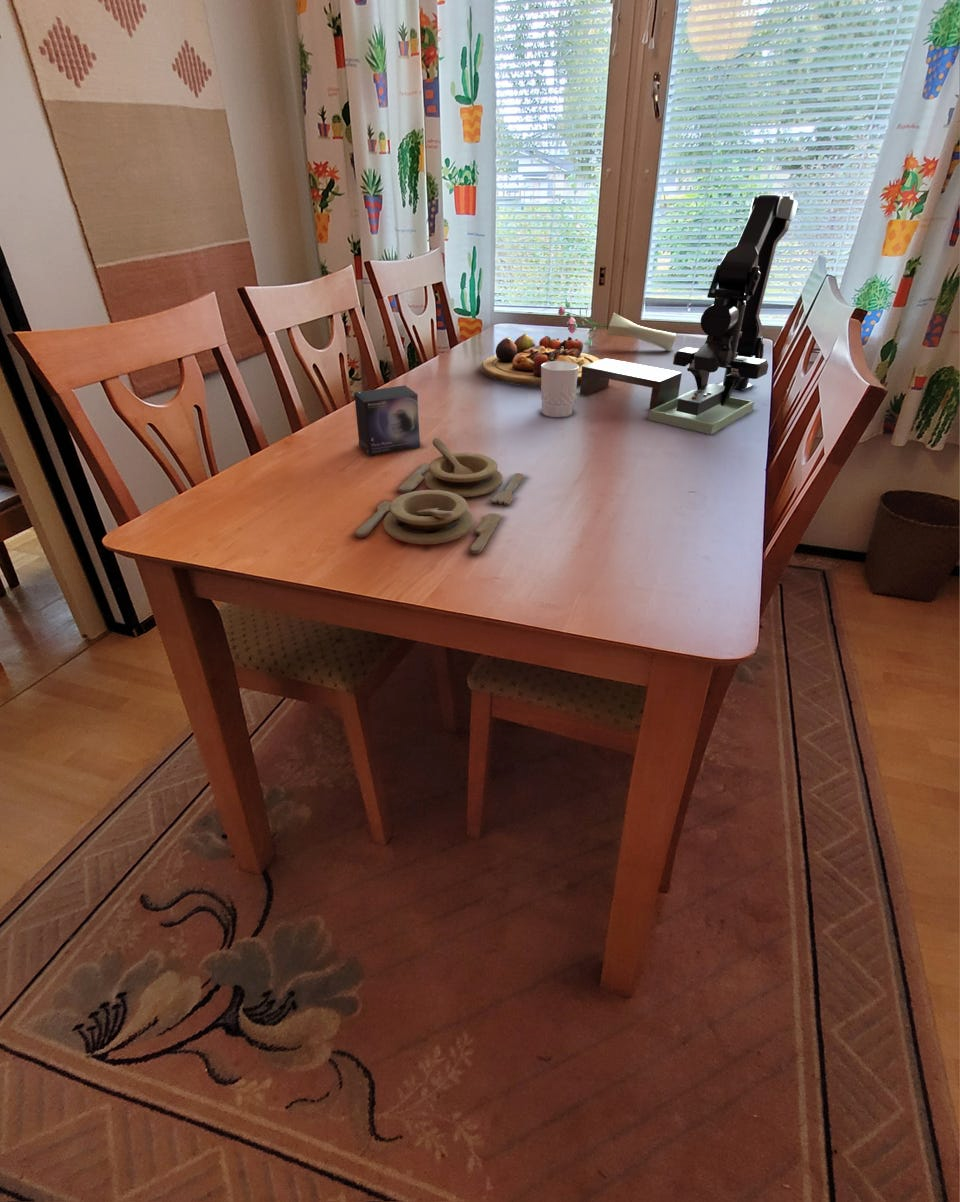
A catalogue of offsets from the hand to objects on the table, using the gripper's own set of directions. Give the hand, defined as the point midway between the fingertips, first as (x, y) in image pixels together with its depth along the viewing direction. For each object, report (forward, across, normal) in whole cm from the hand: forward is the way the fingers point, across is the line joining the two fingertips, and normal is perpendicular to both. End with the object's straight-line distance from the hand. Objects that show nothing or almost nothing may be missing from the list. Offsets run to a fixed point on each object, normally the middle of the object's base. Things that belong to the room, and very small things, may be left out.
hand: (711, 403), depth 142 cm
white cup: (+2, -24, -24) cm, 34 cm away
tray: (+2, 0, -4) cm, 5 cm away
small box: (+2, -36, -62) cm, 72 cm away
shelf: (+2, -18, -4) cm, 19 cm away
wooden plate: (+2, -48, +2) cm, 48 cm away
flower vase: (+2, -48, +37) cm, 61 cm away
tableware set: (+2, -10, -72) cm, 73 cm away
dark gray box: (-1, 0, -5) cm, 5 cm away
